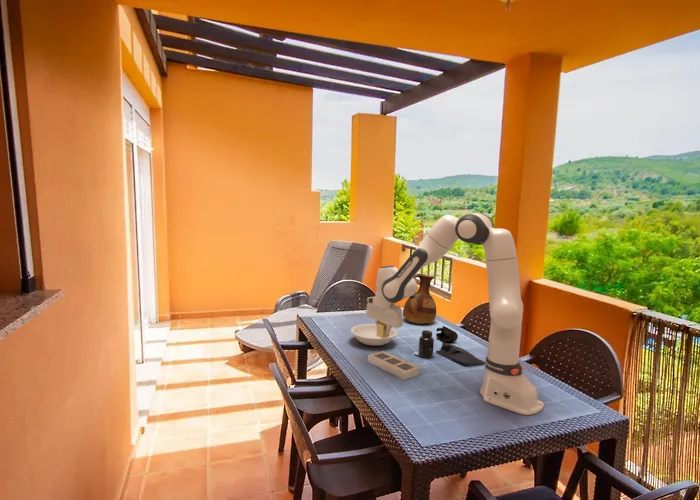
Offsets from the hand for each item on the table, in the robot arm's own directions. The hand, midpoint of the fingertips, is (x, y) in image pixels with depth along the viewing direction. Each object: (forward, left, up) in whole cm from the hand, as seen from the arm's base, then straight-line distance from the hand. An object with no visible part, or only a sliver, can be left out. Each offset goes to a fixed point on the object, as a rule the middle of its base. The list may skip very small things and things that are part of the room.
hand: (383, 331), depth 182 cm
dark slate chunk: (-16, -36, -15) cm, 42 cm away
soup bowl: (+21, -14, -15) cm, 29 cm away
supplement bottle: (-6, -23, -14) cm, 28 cm away
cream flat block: (-7, 0, -14) cm, 16 cm away
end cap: (+3, -50, -15) cm, 52 cm away
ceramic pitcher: (+35, -64, -14) cm, 75 cm away
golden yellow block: (0, 0, -2) cm, 2 cm away
